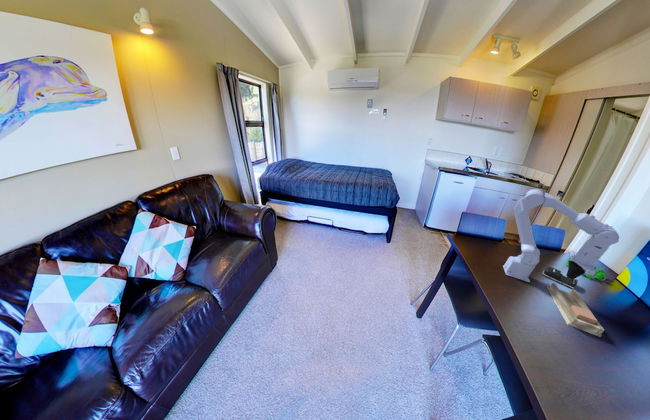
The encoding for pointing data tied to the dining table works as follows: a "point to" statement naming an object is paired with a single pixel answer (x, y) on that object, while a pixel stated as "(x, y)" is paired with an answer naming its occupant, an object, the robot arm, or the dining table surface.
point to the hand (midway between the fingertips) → (569, 277)
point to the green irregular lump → (598, 275)
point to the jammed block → (584, 315)
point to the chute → (565, 304)
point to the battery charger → (559, 277)
